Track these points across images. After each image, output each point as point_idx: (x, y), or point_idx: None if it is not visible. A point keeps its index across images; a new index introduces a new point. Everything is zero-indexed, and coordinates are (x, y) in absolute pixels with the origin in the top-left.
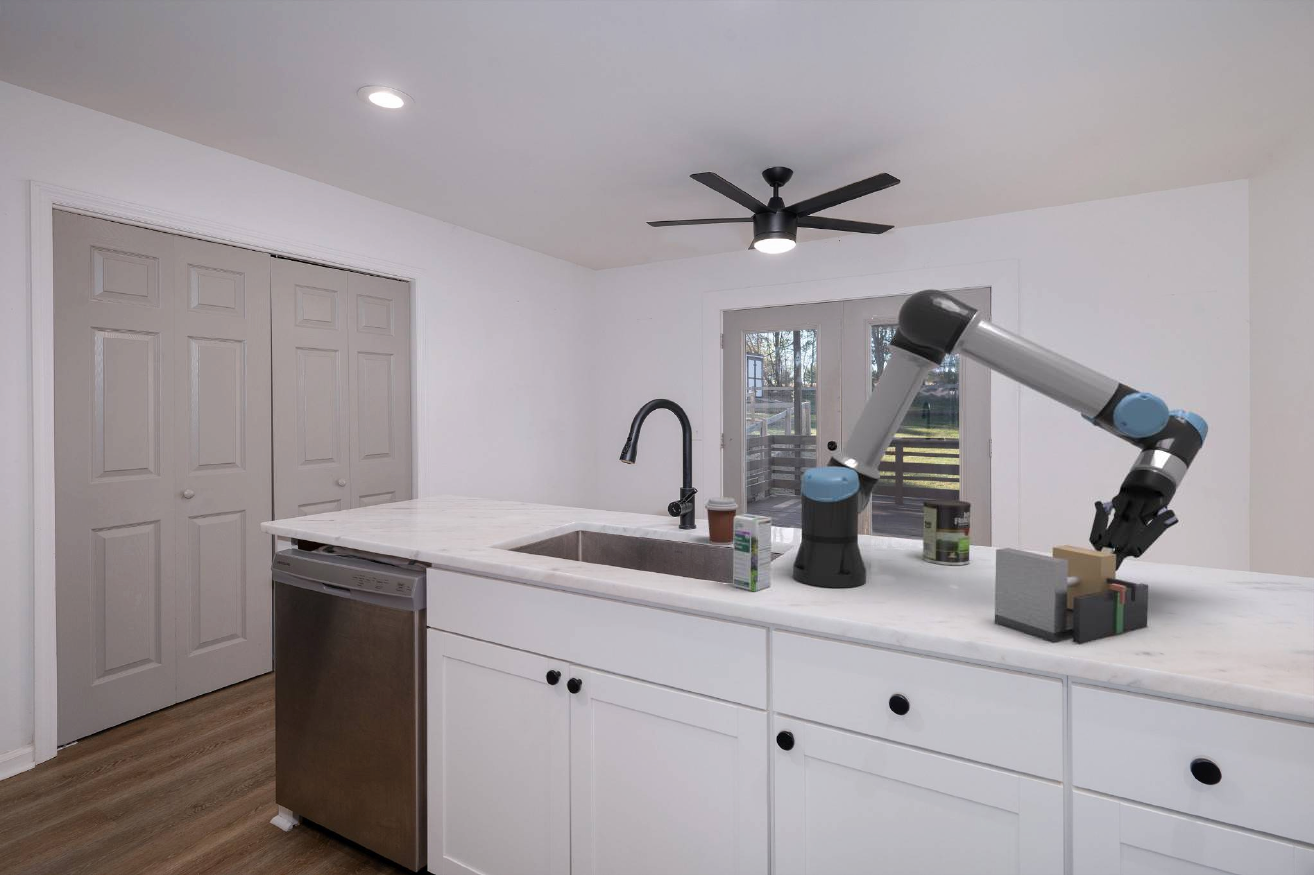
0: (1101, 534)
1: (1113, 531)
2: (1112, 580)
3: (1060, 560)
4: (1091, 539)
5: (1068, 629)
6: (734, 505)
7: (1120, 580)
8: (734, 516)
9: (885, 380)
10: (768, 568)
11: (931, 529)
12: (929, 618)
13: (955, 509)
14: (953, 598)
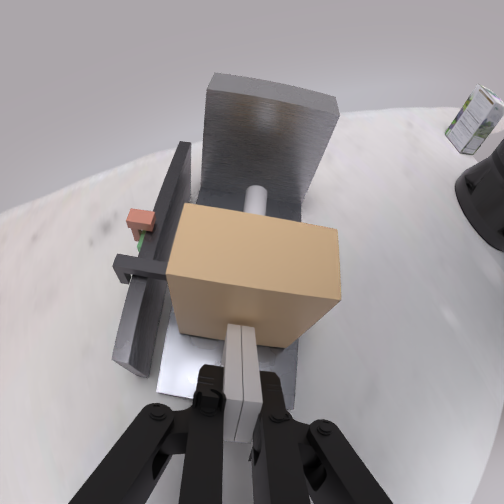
0: (324, 488)
1: (268, 481)
2: (166, 264)
3: (215, 82)
4: (327, 423)
5: (200, 192)
6: None
7: (148, 266)
8: None
9: None
10: (466, 136)
11: None
12: (343, 158)
13: None
14: (404, 254)
